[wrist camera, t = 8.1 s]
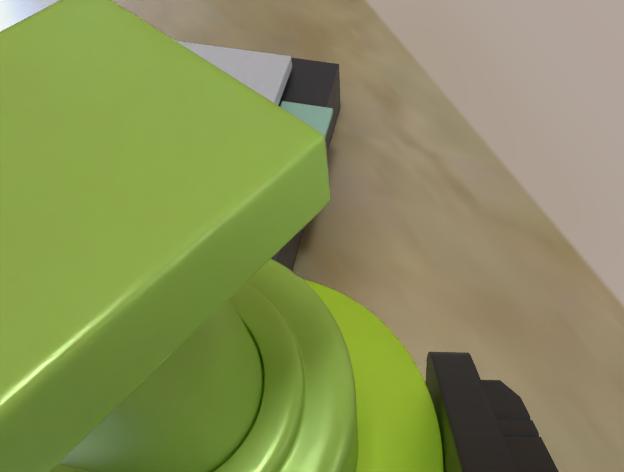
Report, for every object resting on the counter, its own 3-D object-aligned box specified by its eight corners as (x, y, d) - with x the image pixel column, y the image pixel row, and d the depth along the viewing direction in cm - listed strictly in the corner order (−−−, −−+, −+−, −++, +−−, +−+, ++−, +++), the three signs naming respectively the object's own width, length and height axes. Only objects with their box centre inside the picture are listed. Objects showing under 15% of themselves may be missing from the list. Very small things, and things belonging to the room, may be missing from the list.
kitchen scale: (348, 107, 29) (347, 46, 25) (287, 318, 23) (275, 278, 20) (102, 71, 31) (69, 11, 28) (-5, 254, 26) (-63, 208, 22)
